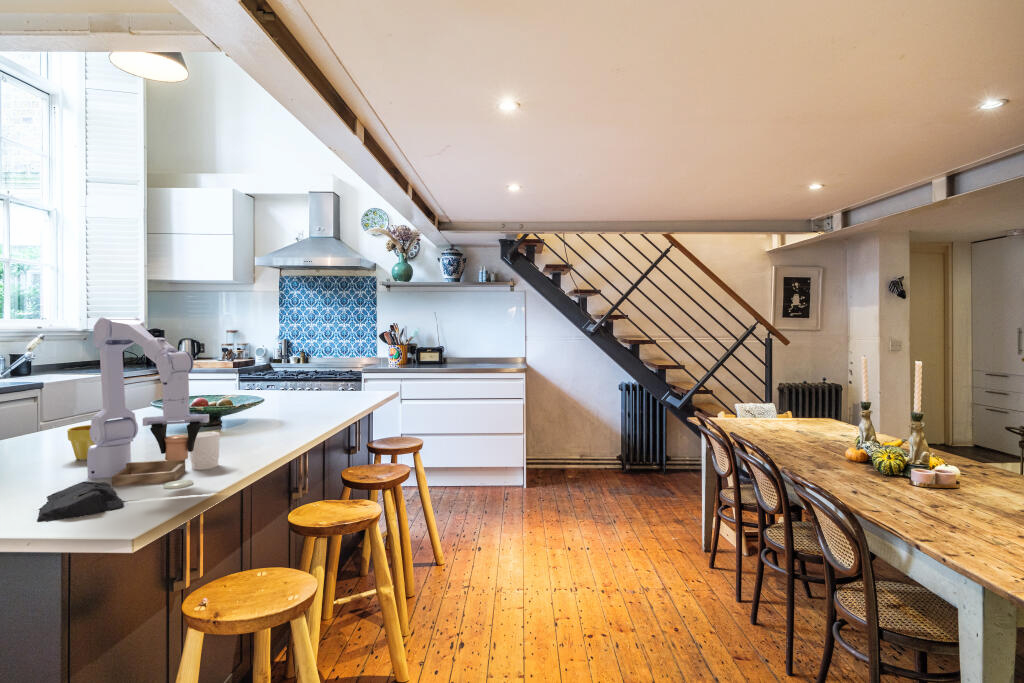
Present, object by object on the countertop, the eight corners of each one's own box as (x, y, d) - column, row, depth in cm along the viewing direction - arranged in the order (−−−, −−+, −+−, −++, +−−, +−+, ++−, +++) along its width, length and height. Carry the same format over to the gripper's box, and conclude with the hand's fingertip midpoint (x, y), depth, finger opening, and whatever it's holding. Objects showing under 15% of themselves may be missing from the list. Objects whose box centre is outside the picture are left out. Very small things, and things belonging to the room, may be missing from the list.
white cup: (226, 465, 163) (225, 431, 163) (209, 472, 156) (208, 437, 155) (201, 464, 164) (200, 431, 164) (183, 471, 156) (182, 436, 156)
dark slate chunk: (119, 489, 142) (118, 470, 142) (124, 511, 124) (124, 490, 124) (40, 501, 132) (40, 481, 132) (35, 527, 115) (34, 504, 115)
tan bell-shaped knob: (161, 461, 138) (162, 439, 137) (165, 456, 143) (166, 435, 143) (187, 460, 140) (188, 439, 140) (190, 455, 145) (191, 434, 145)
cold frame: (112, 488, 141) (111, 472, 141) (127, 477, 151) (127, 462, 151) (174, 483, 145) (174, 468, 145) (185, 472, 155) (185, 458, 155)
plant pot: (92, 461, 169) (92, 430, 169) (59, 462, 169) (58, 430, 169) (117, 454, 179) (116, 424, 179) (86, 454, 179) (85, 424, 179)
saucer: (156, 493, 136) (156, 489, 136) (165, 484, 144) (165, 480, 144) (191, 490, 139) (191, 486, 139) (198, 481, 146) (198, 478, 146)
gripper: (137, 402, 135) (139, 457, 135) (204, 399, 139) (205, 453, 139) (147, 398, 141) (148, 451, 142) (210, 396, 146) (211, 447, 146)
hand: (177, 452), depth 141 cm, fingers closed on tan bell-shaped knob, 5 cm apart
